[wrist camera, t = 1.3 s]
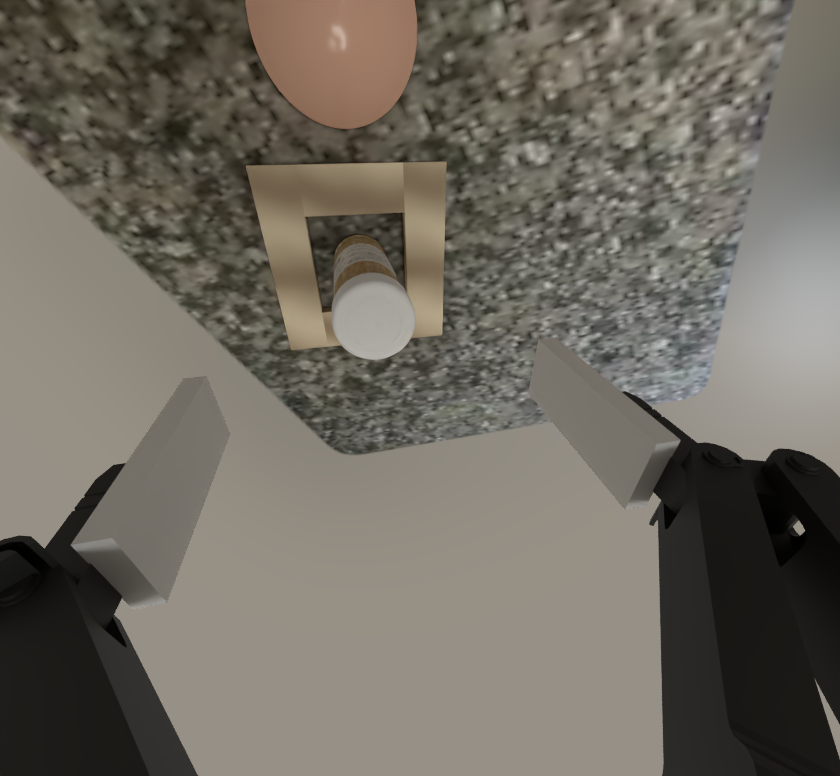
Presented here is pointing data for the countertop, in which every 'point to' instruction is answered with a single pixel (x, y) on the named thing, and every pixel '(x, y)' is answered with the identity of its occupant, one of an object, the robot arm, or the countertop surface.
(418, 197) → the collar board
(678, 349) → the countertop surface
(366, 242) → the sprinkles bottle
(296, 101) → the coaster
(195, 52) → the countertop surface
